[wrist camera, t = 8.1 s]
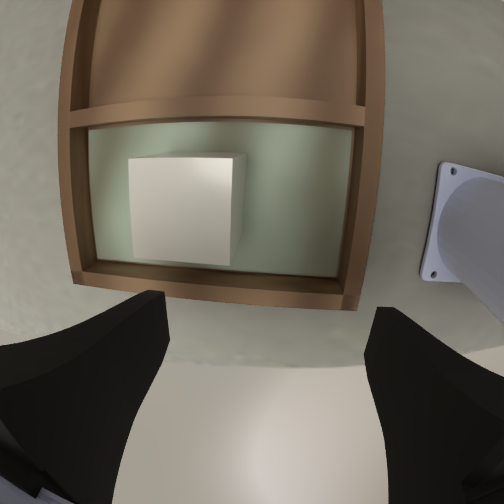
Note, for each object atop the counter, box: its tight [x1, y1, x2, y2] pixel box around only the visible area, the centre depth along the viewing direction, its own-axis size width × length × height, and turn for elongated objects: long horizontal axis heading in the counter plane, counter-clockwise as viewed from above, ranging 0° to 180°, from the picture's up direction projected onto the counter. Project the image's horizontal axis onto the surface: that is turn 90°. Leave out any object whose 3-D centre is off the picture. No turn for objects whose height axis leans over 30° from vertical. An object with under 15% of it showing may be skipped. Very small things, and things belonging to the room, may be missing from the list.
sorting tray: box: [58, 0, 385, 311], centre depth 15 cm, size 18×21×3 cm
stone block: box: [128, 152, 247, 266], centre depth 14 cm, size 4×4×5 cm
